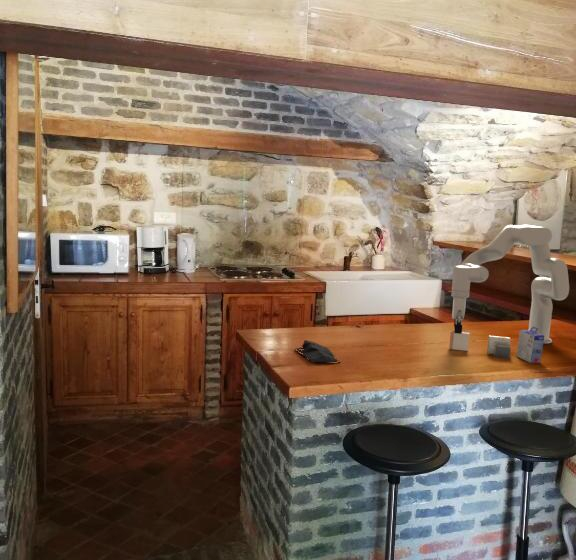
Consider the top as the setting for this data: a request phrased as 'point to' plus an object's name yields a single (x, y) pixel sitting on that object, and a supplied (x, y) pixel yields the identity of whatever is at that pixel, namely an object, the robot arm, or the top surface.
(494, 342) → the ticket holder
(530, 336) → the ink cartridge box
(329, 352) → the dark fabric pouch
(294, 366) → the top surface
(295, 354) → the top surface
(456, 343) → the grey flat block
